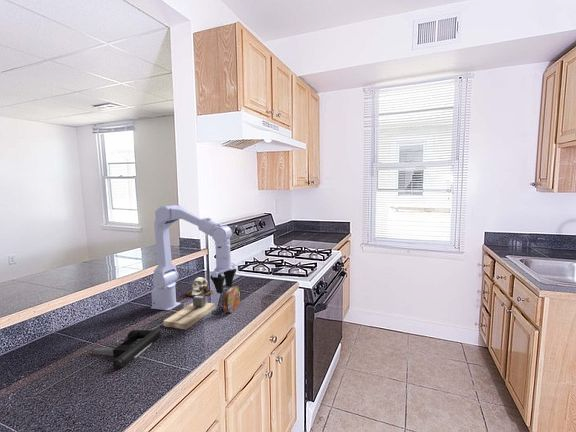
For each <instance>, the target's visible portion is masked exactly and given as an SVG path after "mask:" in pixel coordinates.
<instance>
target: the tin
mask: <svg viewBox="0 0 576 432" xmlns="http://www.w3.org/2000/svg"><path fill="white" fill-rule="evenodd" d="M241 299H242V291H241V288H240V286H239V285H236V286H235V285H234V286H233V285H232V287H229V288H228V289H227V290H226V292H225V293H223V296H222V308H223V309H222V310H223V312H224V313H233V312H234V311H235V310H236V309H237V308H238V307H239V305H240V304H241V301H242V300H241Z"/></svg>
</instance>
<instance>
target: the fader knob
mask: <svg viewBox="0 0 576 432" xmlns="http://www.w3.org/2000/svg"><path fill="white" fill-rule="evenodd" d="M192 303H193V306H198V307H202V306H204V305H205V304H206V303H207V301H206V295H205V296H200V295H196V296H195V297H193V296H192Z"/></svg>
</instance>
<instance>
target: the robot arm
mask: <svg viewBox="0 0 576 432" xmlns="http://www.w3.org/2000/svg"><path fill="white" fill-rule="evenodd" d="M154 214H155V218H154V219H155V220H154V225H153V226H154V235H155V236H154V237H155V246H156V247H155V248H156V255H157V256H156V258H157V265H156V268H155V269H153V277H152V284H153V286H154V287H152V290H151V307H150V309H153V310H161V311H171V310H173V309H174V308H176V307H177V306H179V305H181V304H182V303H181V302H180V301H179V302H177V296H176V295H177V294H176V284H177V281H178V280H179V278H180V277H179V273H178V270H177V266H176V265H175V264H174V263H172V261H173V260H172V252H171V251H172V250H171V240H170V238H171V237H170V226H172V224H174V223H175V222H177V221H178V220H183V221H186V222H188V223H190V224H192V225H195V226H197V227H198V230H199V231H201V232H202V233H204V234H206V235H208V236H210V237H212V239H213V241H214V245H215V266H216V267H215V269H214V270H213V271H211V275H210V279H211V281H212V283H213V285H214V287H215V291H216V294H223V293H224V282H225V286H226V287H227V288H231V287H233V282H234V278H235V274H236V272H237V268H235V262H232V260H231V258H232V257H231V238H232V236H233V230H232V228H231V227H230V226H229V225H226V224H224V225H222V223H220V222H216V221H214V220H212V218H211V217H203V218H202V217H200V216H198V215H196V214H195V213H193V212H191V211H189V210H188V209H186V208H185V207H184V206H181V205H179V204H174V205H163V206H160V207H158V208H157V209H156V210H155V212H154ZM222 274H223V275H222Z"/></svg>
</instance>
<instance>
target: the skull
mask: <svg viewBox="0 0 576 432" xmlns="http://www.w3.org/2000/svg"><path fill="white" fill-rule="evenodd" d="M191 288H192V290H189V291H187V292H186V294H185V295H186V296H189V297H192V298H193V297H195V296H196V295H200V296H205V297H206V296H208V295H211V294H212V293H213V291H212V290H211V289H210V290H208V288H209V282H208V280H207V279H206V278H204V277H202V276H201V277H200V276H198V277H196V278H195V279H194V280H193V281H192V286H191Z"/></svg>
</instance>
